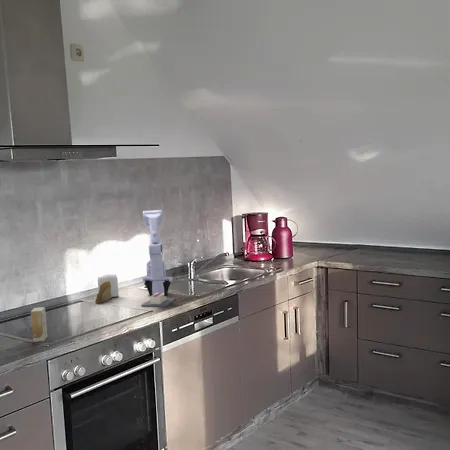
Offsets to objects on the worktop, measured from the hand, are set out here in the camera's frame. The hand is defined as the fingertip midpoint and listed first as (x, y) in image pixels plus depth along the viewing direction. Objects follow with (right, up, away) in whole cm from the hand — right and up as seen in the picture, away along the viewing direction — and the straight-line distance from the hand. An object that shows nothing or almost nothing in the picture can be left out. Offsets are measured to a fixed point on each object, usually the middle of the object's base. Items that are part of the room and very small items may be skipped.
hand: (158, 295), depth 276 cm
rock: (-29, -4, +11) cm, 32 cm away
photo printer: (-28, -3, +19) cm, 34 cm away
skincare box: (-40, -11, -53) cm, 67 cm away
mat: (0, -4, 0) cm, 4 cm away
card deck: (0, -3, 0) cm, 3 cm away
